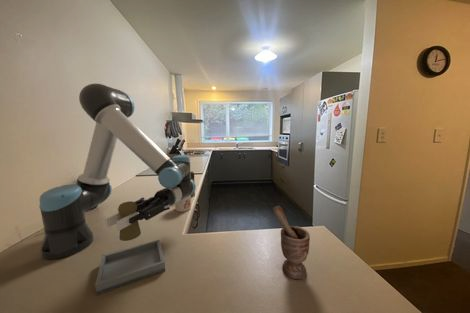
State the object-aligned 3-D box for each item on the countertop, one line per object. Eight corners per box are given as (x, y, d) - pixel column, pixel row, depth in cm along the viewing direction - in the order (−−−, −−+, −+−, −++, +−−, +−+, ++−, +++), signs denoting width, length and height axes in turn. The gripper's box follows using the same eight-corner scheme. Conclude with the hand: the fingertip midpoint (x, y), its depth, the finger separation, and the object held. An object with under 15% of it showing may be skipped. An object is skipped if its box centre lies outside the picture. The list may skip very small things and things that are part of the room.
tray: (96, 295, 51) (95, 285, 50) (103, 263, 63) (102, 255, 62) (165, 270, 59) (164, 262, 59) (159, 246, 71) (159, 239, 71)
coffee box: (181, 198, 121) (180, 174, 119) (180, 194, 127) (179, 172, 125) (195, 196, 125) (194, 173, 122) (193, 193, 131) (192, 171, 128)
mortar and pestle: (267, 273, 58) (268, 213, 55) (273, 255, 66) (274, 202, 63) (307, 284, 53) (310, 220, 50) (308, 264, 61) (311, 207, 58)
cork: (136, 228, 63) (133, 197, 62) (144, 234, 60) (141, 202, 58) (116, 236, 59) (112, 203, 57) (123, 243, 55) (120, 208, 53)
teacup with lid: (186, 212, 100) (185, 192, 98) (171, 211, 102) (170, 191, 100) (196, 204, 111) (195, 185, 110) (182, 202, 114) (181, 184, 112)
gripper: (185, 208, 72) (134, 242, 51) (152, 202, 78) (94, 230, 57) (185, 190, 71) (132, 217, 50) (151, 185, 77) (91, 208, 56)
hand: (112, 224), depth 53 cm, fingers closed on cork, 4 cm apart
